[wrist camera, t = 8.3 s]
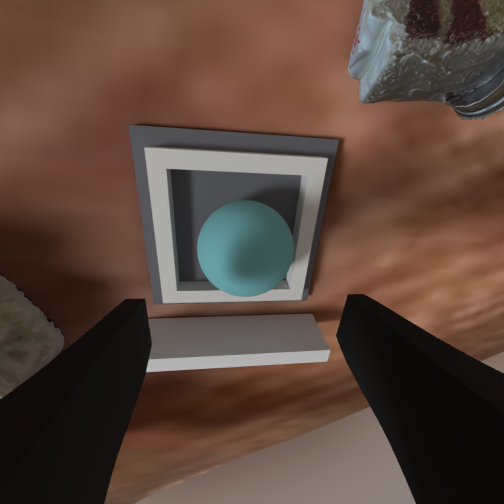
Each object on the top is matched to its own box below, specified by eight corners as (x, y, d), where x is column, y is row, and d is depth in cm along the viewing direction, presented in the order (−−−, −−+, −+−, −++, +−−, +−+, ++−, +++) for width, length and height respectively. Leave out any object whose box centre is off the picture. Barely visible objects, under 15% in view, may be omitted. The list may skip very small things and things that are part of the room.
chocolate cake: (369, -227, 10) (403, -75, 6) (584, -292, 8) (806, -152, 5) (333, 42, 19) (337, 173, 15) (435, 30, 17) (469, 169, 14)
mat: (155, 299, 19) (149, 315, 17) (131, 125, 14) (120, 124, 12) (304, 296, 20) (311, 310, 19) (334, 139, 15) (348, 140, 14)
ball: (195, 269, 17) (202, 324, 12) (192, 190, 14) (199, 219, 10) (270, 263, 18) (302, 311, 14) (278, 190, 16) (320, 216, 11)
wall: (147, 330, 20) (131, 372, 16) (145, 318, 19) (128, 360, 16) (309, 323, 22) (327, 361, 18) (312, 313, 21) (330, 349, 18)
